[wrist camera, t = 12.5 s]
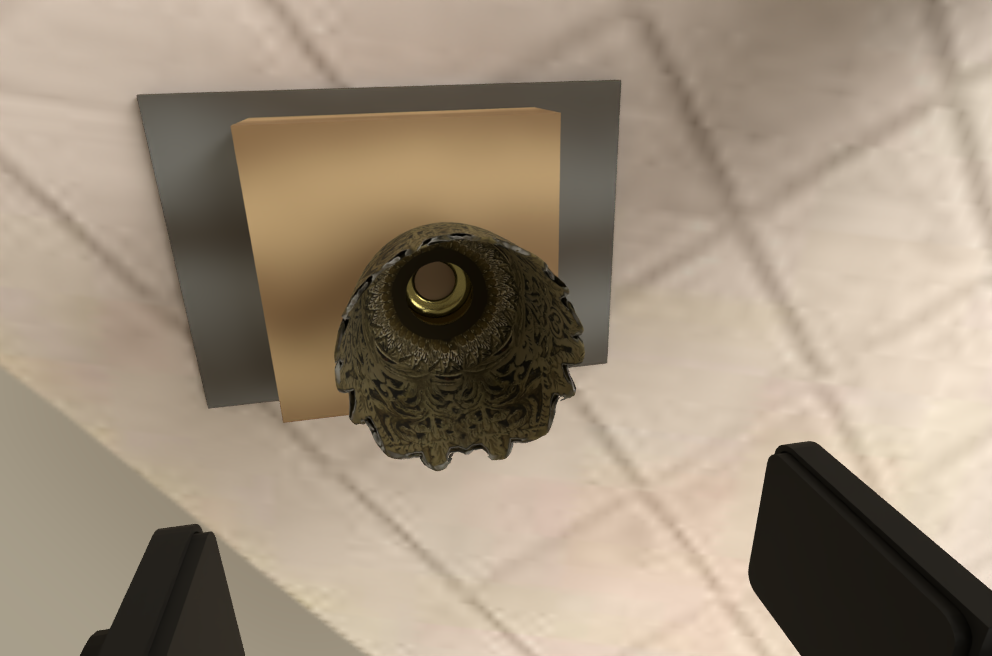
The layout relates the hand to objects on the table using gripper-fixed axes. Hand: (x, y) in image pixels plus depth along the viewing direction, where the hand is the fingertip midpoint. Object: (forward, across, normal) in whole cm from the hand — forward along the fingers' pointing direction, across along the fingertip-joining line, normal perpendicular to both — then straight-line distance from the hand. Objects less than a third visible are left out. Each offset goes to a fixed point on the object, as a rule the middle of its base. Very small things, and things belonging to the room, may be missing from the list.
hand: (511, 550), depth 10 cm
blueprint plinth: (+21, +1, 0) cm, 21 cm away
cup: (+16, 0, +1) cm, 16 cm away
